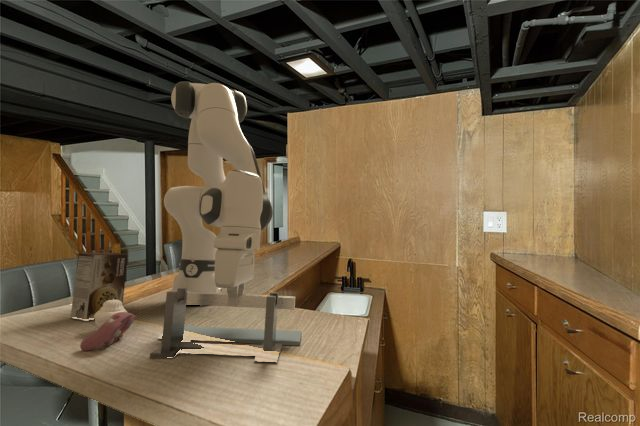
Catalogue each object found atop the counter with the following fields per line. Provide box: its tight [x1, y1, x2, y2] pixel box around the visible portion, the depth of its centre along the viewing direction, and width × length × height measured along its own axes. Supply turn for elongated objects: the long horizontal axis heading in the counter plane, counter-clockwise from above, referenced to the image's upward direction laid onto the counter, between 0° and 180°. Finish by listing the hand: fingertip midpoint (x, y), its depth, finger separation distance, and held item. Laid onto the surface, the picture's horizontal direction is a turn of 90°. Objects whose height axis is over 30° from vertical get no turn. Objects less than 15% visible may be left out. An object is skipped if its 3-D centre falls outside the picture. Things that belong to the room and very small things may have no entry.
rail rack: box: [149, 288, 283, 359], centre depth 58 cm, size 8×22×11 cm, turn 91°
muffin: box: [94, 299, 129, 329], centre depth 67 cm, size 6×6×7 cm
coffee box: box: [70, 252, 129, 319], centre depth 79 cm, size 9×6×16 cm
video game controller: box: [79, 311, 137, 352], centre depth 60 cm, size 10×5×7 cm
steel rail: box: [186, 291, 296, 310], centre depth 68 cm, size 2×26×2 cm, turn 91°
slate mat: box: [184, 325, 302, 347], centre depth 67 cm, size 8×29×1 cm, turn 91°
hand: (235, 304), depth 68 cm, fingers closed on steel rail, 2 cm apart
